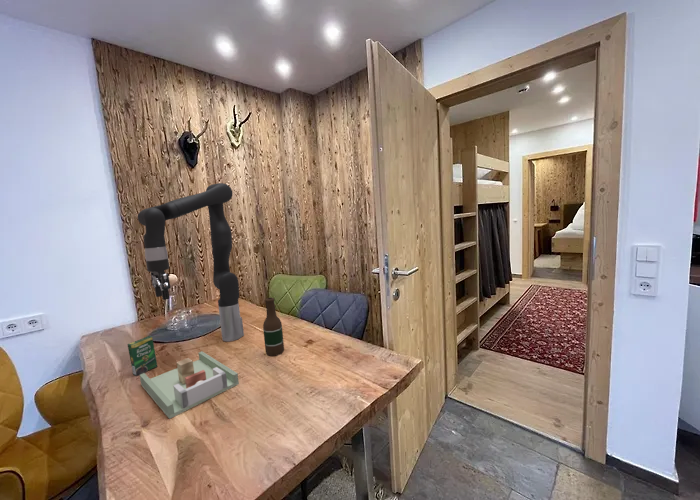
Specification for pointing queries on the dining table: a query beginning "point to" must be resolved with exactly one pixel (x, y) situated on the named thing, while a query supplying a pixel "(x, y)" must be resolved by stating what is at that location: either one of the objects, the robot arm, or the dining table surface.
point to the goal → (200, 389)
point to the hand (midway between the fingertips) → (162, 297)
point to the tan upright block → (189, 373)
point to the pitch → (163, 384)
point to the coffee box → (142, 355)
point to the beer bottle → (272, 330)
